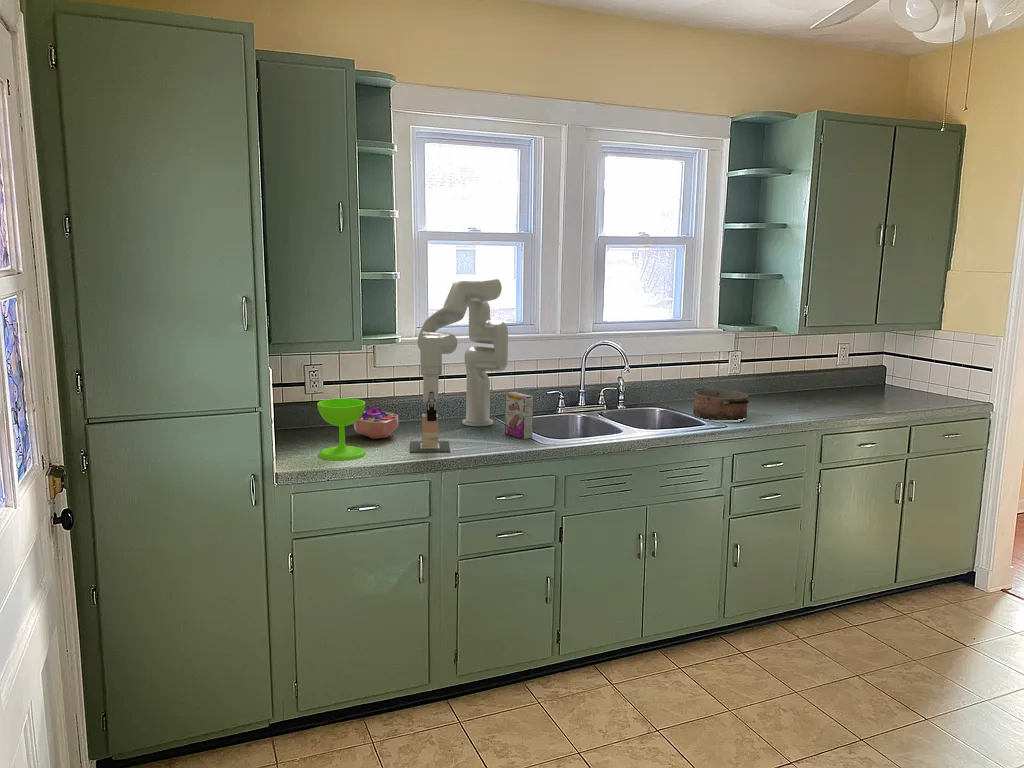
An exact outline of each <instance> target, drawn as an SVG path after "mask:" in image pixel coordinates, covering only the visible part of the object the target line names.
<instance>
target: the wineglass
mask: <svg viewBox="0 0 1024 768" xmlns="http://www.w3.org/2000/svg"><path fill="white" fill-rule="evenodd" d="M316 404H317V406H316V407H317V410H318V412H319V414H320V415H319V416H321V418H322V419H323V420H324V422H327V423H328V424H330V425H332V426H335V427H338V437H339V438H338V439H339V440H338V445H337V446H330V447H325V448H323V449H322V450H320V451H319V453H318V457H319V459H323V460H326V461H334V462H335V461H336V462H341V461H352V460H358V459H361V458H364V457H365V456H366V454H367V453H366V451H365V449H363V448H361V447H358V446H354V445H353V446H351V445H346V430H345V429H346V428H345V427H348V426H350V425H354V422H356V421H357V420H358V419H359V418H360V417H361V416H362V414H363V412H365V409H366V401H365V400H362V399H357V398H348V397H346V398H343V397H342V398H341V397H340V398H329V399H324V400H320V401H318V402H317V403H316Z"/></svg>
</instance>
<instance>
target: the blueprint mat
mask: <svg viewBox="0 0 1024 768" xmlns="http://www.w3.org/2000/svg"><path fill="white" fill-rule="evenodd" d="M409 453H410V454H423V453H424V454H426V453H427V454H430V453H431V454H432V453H433V454H434V453H435V454H436V453H437V454H438V453H441V454H443V453H444V454H445V453H451V447H450V441H449V440H438V448H422V440H421V441H419V440H417V441H414V440H413V441H410V443H409Z"/></svg>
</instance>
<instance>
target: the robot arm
mask: <svg viewBox="0 0 1024 768" xmlns="http://www.w3.org/2000/svg"><path fill="white" fill-rule="evenodd" d="M502 287H503V286H502V282H501V281H500V280H499V278H497V277H493V276H471V275H470V276H463V277H461V278H458V279H456V280H454V281H453V283H452V284H451V286H450V290H449V293H448V294H447V297H446V299H445V301H444V304H443V306H442V308H440V309H439V310H437V311H435V312H434V313H433V314H432V315H430V316H429V317H428V318H427V319H426V320H424V323H423V324H422V326H421V329H420V331H419V333H418V337H417V347H418V349H419V351H420V353H419V355H420V367H419V368H420V376H423V377H422V378H423V379H422V381H423V382H422V383H423V384H422V386H423V388H422V389H423V392H422V393H423V394H422V397H423V403H424V404H426V414H427V421H436V414H437V406H436V405H437V403H438V399H439V398H438V397H439V376H442V375H443V355H449V354H452V353H454V352H455V351H456V350H457V348H458V339H457V337H456V336H455V334H453V333H449V332H437V331H438V330H440V329H441V328H443V327H446V326H449V325H453V324H455V323H458V322H460V321H462V320H463V319H464V317H465V315H466V313H467V311H468V338H469V340H470V341H471V342H473V343H474V344H483V345H484V344H486V345H493V347H491V346H490V347H489V346H479V345H478V346H470V347H469V348H467V349H466V350H465V351H464V354H463V355H464V358H463V359H464V366H465V372H466V375H465V376H466V393H465V394H466V398H465V399H466V400H465V401H466V403H465V404H466V405H465V406H466V407H465V413H466V414H465V418H464V419H462V422H461V423H462V424H463V425H465V426H468V427H476V428H477V427H487V426H492V425H493V424H494V420H493V419H491V418H490V407H491V406H490V405H491V402H490V401H491V400H490V399H491V398H490V397H491V392H490V391H491V380H490V377H489V375H488V373H487V372H494V373H495V372H498V373H499V372H504V371H505V370H506V369H507V365H508V360H509V359H508V357H509V329H508V326H507V324H506V323H505V322H504V321H503V320H493V319H491V306H490V304H489V302H491V301H494V300H497V299H498V298H499V297H500V296H501V293H502Z"/></svg>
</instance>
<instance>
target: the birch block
mask: <svg viewBox="0 0 1024 768" xmlns="http://www.w3.org/2000/svg"><path fill="white" fill-rule="evenodd" d="M421 435H422V436H421V441H422V448H438V441H439V431H438V432H430V433H422V432H421Z"/></svg>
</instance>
